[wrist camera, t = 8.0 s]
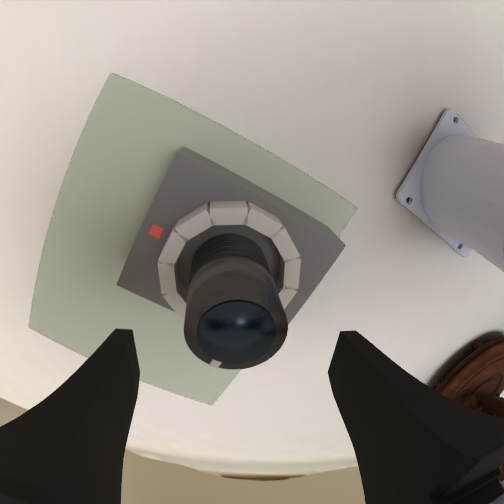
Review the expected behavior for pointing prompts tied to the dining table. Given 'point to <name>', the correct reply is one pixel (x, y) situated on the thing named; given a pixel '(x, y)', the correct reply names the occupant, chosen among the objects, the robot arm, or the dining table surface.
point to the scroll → (479, 381)
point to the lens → (233, 305)
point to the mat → (129, 223)
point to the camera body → (222, 222)
